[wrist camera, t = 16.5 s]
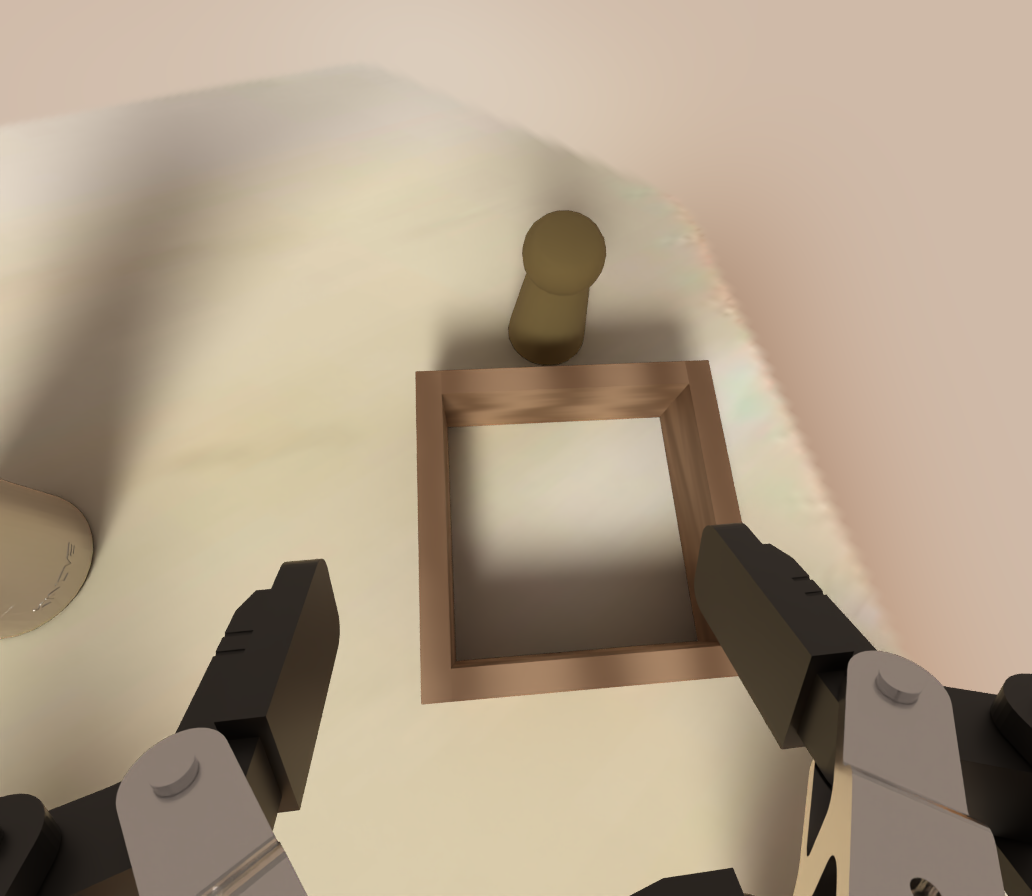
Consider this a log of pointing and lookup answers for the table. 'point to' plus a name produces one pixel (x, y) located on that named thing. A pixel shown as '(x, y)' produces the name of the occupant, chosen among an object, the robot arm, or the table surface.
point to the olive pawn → (556, 287)
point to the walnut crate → (559, 398)
